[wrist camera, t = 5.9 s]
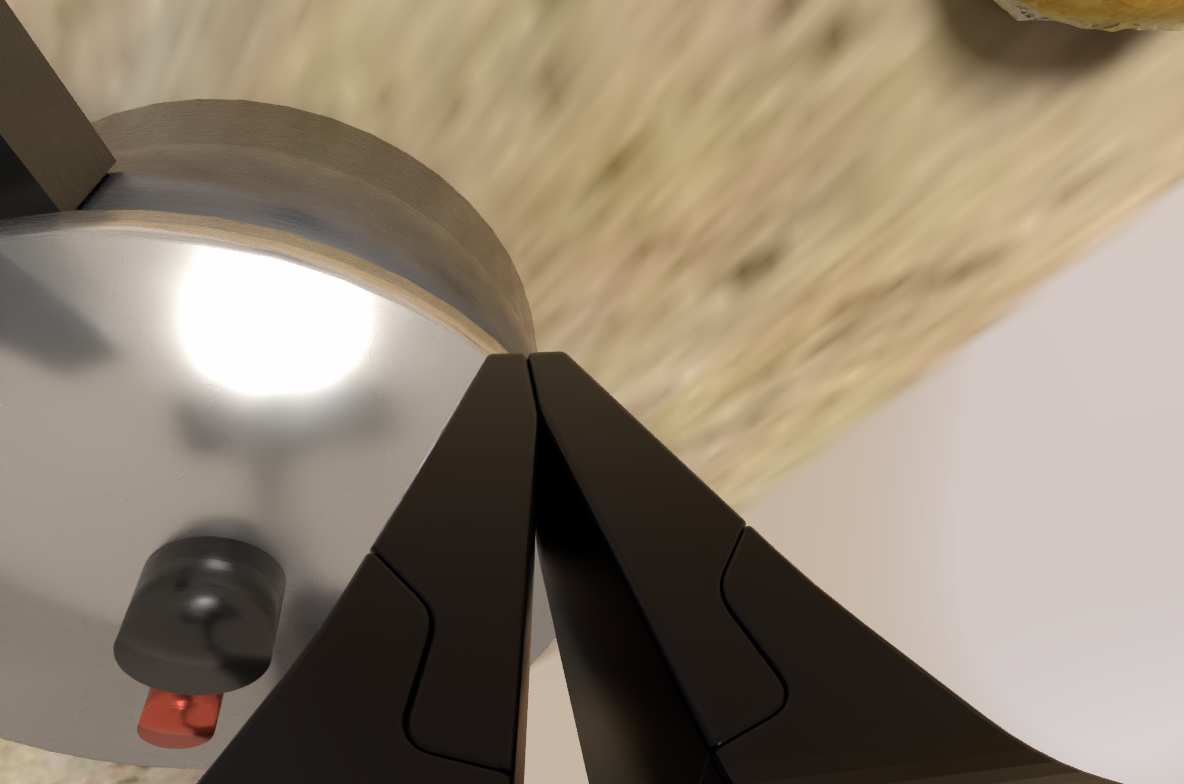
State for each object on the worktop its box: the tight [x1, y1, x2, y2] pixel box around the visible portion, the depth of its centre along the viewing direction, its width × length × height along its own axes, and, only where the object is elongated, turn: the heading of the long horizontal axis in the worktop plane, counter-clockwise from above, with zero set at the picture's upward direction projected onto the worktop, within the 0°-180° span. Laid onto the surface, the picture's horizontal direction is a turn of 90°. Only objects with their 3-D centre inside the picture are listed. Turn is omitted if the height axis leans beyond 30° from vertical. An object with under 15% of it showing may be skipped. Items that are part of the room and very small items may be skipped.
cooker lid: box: [0, 210, 556, 769], centre depth 14 cm, size 21×16×4 cm
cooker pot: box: [0, 0, 537, 358], centre depth 19 cm, size 20×15×7 cm
